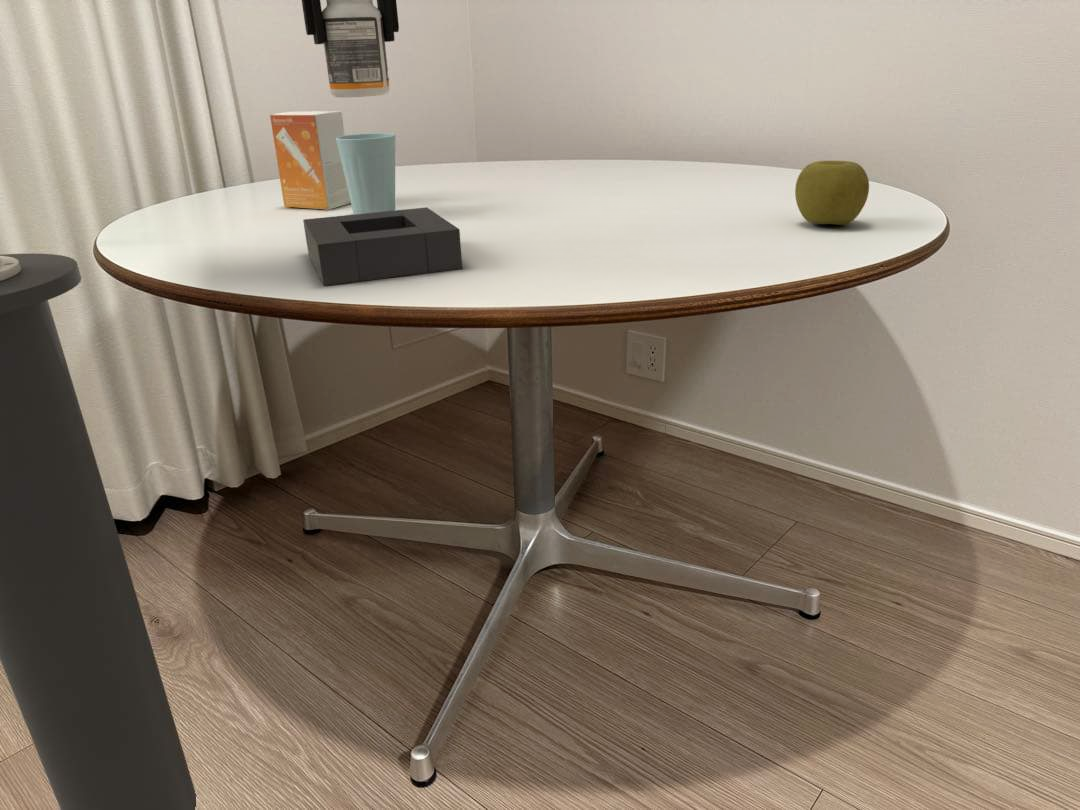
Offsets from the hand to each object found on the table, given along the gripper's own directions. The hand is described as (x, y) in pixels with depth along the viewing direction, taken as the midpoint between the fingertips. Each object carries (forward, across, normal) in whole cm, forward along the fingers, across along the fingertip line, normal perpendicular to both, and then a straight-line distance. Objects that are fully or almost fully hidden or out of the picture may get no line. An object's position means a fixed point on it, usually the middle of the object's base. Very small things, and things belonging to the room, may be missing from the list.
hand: (354, 40), depth 75 cm
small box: (+21, +2, -40) cm, 45 cm away
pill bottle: (+5, 0, 0) cm, 5 cm away
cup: (+22, -4, -26) cm, 34 cm away
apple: (+22, -51, +9) cm, 56 cm away
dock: (+21, 0, 0) cm, 21 cm away
